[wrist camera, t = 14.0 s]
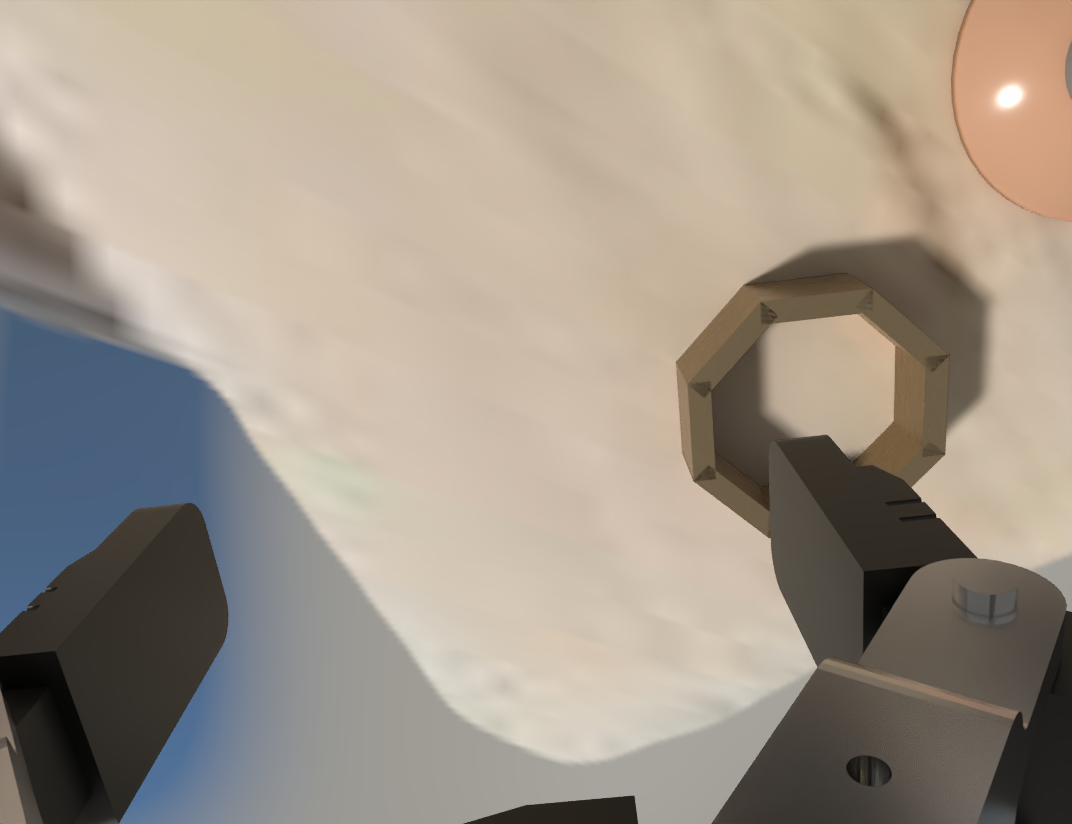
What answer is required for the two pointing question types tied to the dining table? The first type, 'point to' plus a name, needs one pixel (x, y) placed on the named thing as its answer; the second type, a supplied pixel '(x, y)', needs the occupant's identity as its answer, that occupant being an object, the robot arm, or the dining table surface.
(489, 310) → the dining table surface
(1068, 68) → the travel mug
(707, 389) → the collar ring
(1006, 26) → the coaster
